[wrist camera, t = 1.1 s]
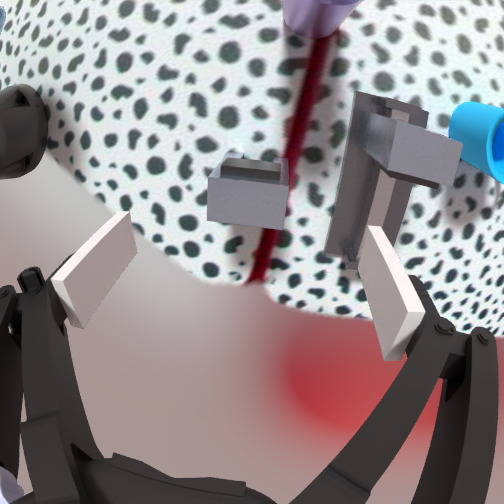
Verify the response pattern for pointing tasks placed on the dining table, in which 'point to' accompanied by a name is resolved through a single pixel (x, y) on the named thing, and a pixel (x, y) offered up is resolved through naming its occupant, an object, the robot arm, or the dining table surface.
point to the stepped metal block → (248, 191)
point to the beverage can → (317, 16)
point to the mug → (480, 136)
